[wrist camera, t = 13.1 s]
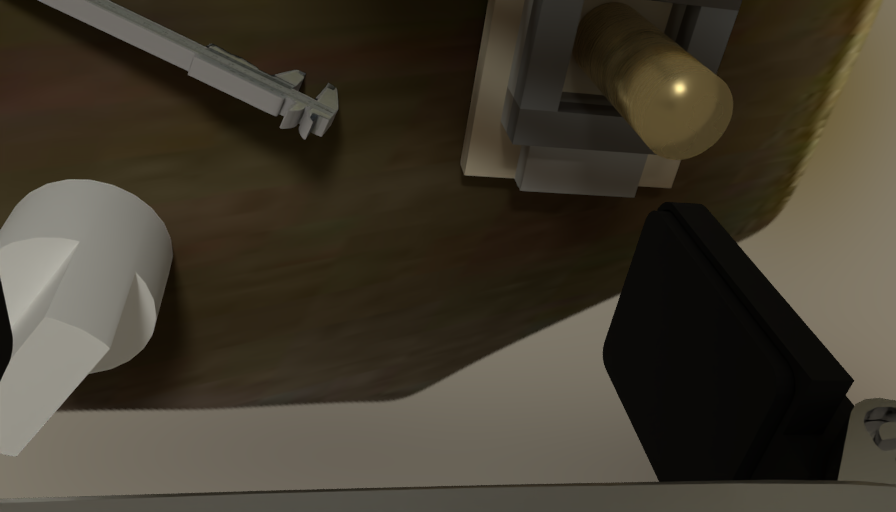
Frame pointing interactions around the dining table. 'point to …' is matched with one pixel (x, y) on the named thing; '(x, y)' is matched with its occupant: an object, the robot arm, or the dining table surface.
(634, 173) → the gray stepped fixture base
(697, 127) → the brass pin
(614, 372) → the robot arm
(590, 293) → the dining table surface
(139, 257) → the cylinder with rectangular tab
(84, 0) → the caliper
